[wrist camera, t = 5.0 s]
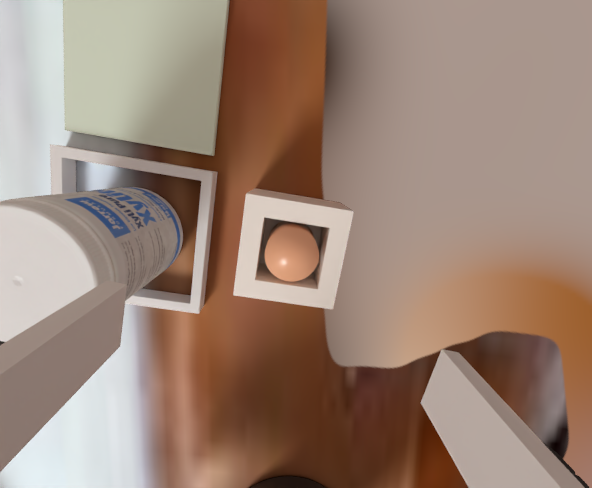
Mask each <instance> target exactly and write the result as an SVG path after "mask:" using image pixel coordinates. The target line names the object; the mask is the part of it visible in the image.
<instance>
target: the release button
mask: <svg viewBox="0 0 592 488" xmlns="http://www.w3.org/2000/svg"><path fill="white" fill-rule="evenodd" d="M318 261H319V250H318V246H317V244H316V241H315V239H314V236H313V233H312V231H311V230H310V228H309V227H308V226H307V225H306V224H302V223H296V222H290V221H282V222H280V223H278V224H277V225H275V226H274V228H273V229H272V230H271V232H270V235H269V238H268V242H267V245H266V249H265V262H266V265H267V267H268V269H269V270H270V272H271V273H272V274H273V275H274V276H276V277H277V278H279V279H281V280H284V281H290V282H292V281H299V280H302V279H304V278H306V277H308V276H309V275H310V274H311V273H312V272H313V271H314V270H315V268H316V266H317V264H318Z"/></svg>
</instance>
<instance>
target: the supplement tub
mask: <svg viewBox="0 0 592 488" xmlns="http://www.w3.org/2000/svg"><path fill="white" fill-rule="evenodd" d="M182 243H183V230H182V225H181V222H180V219H179V217H178V215H177V213H176V211H175V210H174V209H173V207H172V206H171V205H170V204H169V203H168V202H167V201H166V200H165V199H164V198H162V197H161V196H159V195H158V194H156V193H154V192H152V191H150V190H147V189H143V188H138V187H122V188H112V189H103V190H94V191H84V192H75V193H65V194H55V195H45V196H35V197H25V198H18V199H10V200H5V201H1V202H0V341H3V342H7V341H8V340H10V339H12V338H13V337H15V336H16V335H18V334H20V333H21V332H23V331H25V330H26V329H28V328H30V327H31V326H33V325H35V324H36V323H38V322H39V321H41V320H43V319H44V318H46V317H48V316H49V315H51V314H53V313H54V312H56V311H57V310H59V309H61V308H62V307H64V306H66V305H67V304H69V303H71V302H72V301H74V300H76V299H77V298H79V297H80V296H82V295H84V294H85V293H87V292H89V291H90V290H92V289H94V288H95V287H97V286H98V285H100V284H102V283H103V282H105V281H112V282H117V283H122V284H127V289H126V298H125V301H126V300H127V299H129V298H130V297H131V296H132V295H134V294H135V293H136V292H138V291H139V290H140V289H141V288H143V287H144V286H145V285H146V284H148V283H149V282H150V281H151V280H153V279H154V278H155V277H157V276H158V275H159V274H161V273H162V272H163V271H164V270H166V269H167V268H168V267H169V266H170V265H171V264H172V263H173V262H174V261H175V260H176V258H177V257H178V255H179V253H180V250H181V247H182Z"/></svg>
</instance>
